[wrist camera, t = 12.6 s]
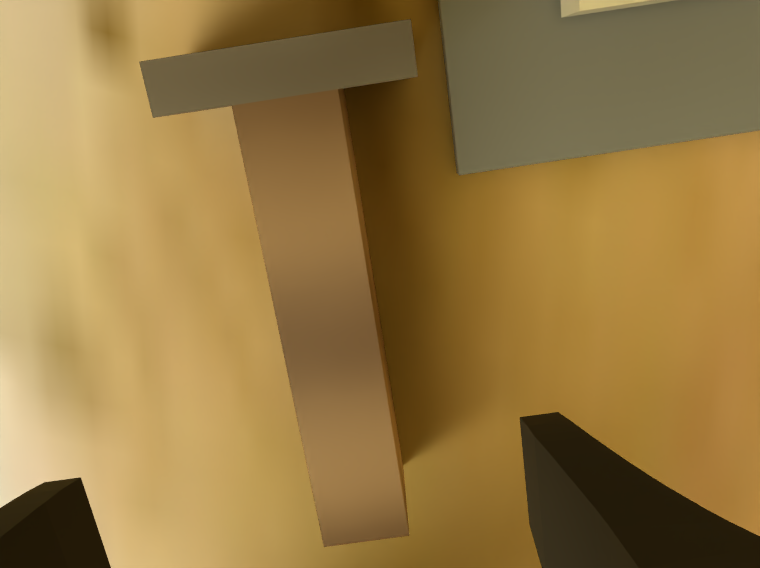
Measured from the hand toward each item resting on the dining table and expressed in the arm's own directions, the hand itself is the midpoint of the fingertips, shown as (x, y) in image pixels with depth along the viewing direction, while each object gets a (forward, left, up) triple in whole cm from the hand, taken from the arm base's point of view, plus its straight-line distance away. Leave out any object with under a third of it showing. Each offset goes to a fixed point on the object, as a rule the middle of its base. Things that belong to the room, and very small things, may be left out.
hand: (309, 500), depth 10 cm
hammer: (+1, 0, -10) cm, 10 cm away
